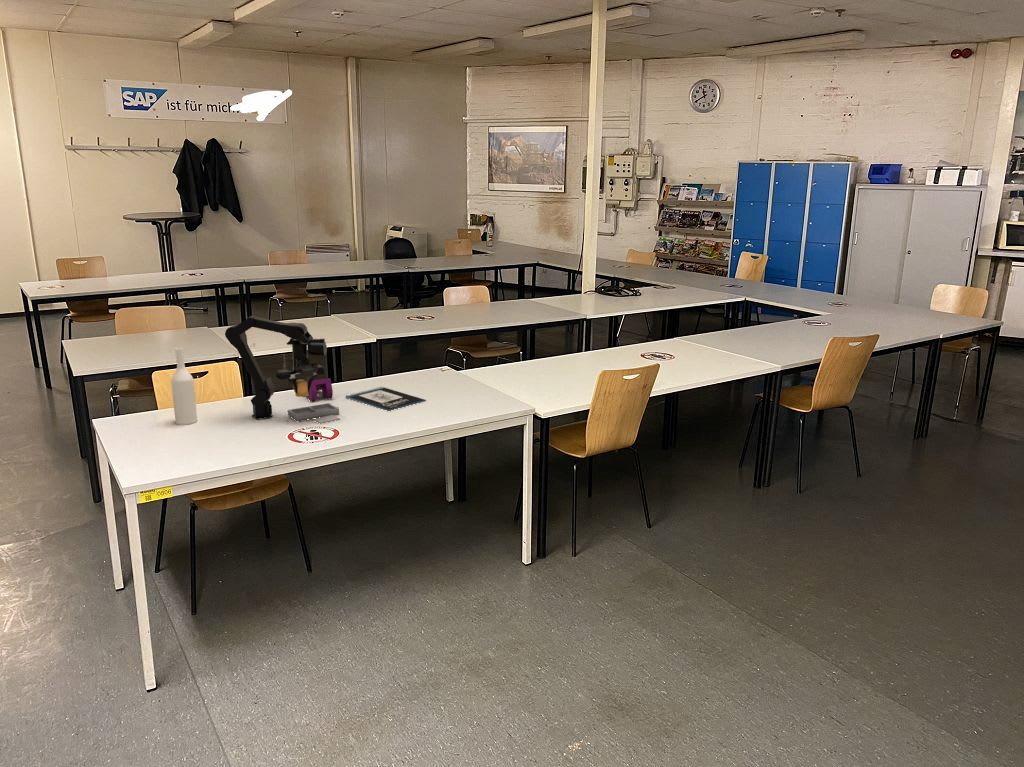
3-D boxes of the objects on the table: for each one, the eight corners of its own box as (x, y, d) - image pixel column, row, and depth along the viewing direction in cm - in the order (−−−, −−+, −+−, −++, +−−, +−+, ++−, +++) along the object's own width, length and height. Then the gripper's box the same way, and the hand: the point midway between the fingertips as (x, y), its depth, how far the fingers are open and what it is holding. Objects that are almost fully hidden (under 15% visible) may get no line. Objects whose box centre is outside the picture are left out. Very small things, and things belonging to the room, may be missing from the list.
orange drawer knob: (298, 397, 306) (297, 383, 305) (293, 394, 310) (292, 380, 309) (310, 395, 309) (310, 381, 308) (305, 392, 313) (305, 378, 312)
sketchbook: (388, 413, 321) (388, 408, 320) (344, 399, 340) (344, 395, 339) (426, 402, 337) (426, 398, 336) (381, 389, 356) (381, 385, 355)
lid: (320, 425, 304) (320, 422, 303) (312, 422, 308) (312, 419, 307) (340, 420, 310) (339, 418, 309) (332, 417, 314) (331, 414, 314)
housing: (297, 421, 306) (296, 416, 305) (288, 415, 313) (287, 409, 313) (339, 414, 316) (338, 408, 315) (329, 408, 324) (328, 402, 323)
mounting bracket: (302, 407, 346) (312, 399, 330) (299, 389, 347) (309, 380, 331) (323, 404, 350) (333, 396, 335) (320, 386, 351) (330, 378, 336)
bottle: (199, 418, 308) (192, 345, 301) (194, 424, 301) (187, 350, 293) (178, 419, 307) (170, 346, 299) (173, 425, 299) (165, 350, 292)
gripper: (284, 362, 294) (287, 400, 298) (330, 356, 305) (331, 393, 309) (274, 356, 302) (276, 394, 307) (319, 351, 313) (320, 387, 317)
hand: (302, 392), depth 310 cm, fingers closed on orange drawer knob, 4 cm apart
